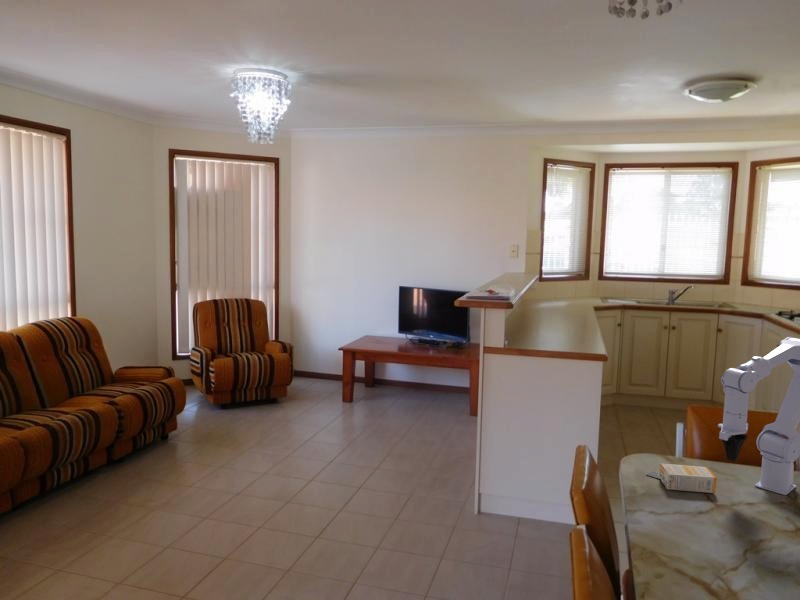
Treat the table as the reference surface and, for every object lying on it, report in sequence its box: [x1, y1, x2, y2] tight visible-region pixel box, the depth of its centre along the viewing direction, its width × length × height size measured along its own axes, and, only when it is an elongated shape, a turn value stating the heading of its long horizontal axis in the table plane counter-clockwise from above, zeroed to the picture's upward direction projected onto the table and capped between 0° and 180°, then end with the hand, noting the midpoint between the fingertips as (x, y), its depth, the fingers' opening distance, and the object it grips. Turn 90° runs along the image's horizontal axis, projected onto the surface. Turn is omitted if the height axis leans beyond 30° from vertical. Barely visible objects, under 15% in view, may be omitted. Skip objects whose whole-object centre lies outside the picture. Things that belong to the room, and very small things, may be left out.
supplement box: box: [659, 463, 718, 494], centre depth 170 cm, size 8×5×13 cm
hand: (731, 459), depth 164 cm, fingers closed
